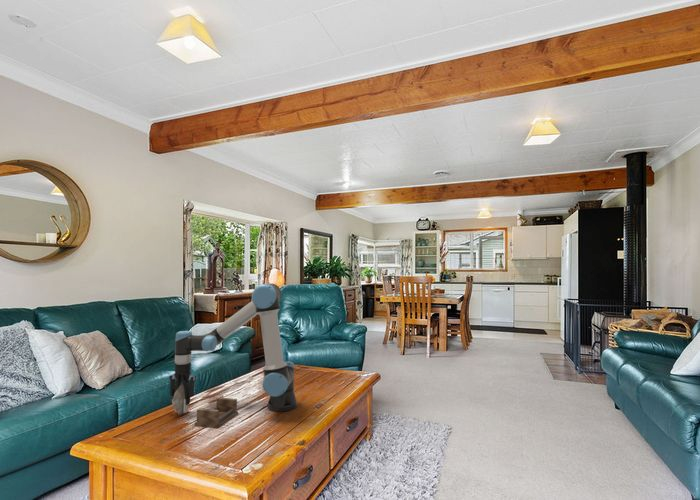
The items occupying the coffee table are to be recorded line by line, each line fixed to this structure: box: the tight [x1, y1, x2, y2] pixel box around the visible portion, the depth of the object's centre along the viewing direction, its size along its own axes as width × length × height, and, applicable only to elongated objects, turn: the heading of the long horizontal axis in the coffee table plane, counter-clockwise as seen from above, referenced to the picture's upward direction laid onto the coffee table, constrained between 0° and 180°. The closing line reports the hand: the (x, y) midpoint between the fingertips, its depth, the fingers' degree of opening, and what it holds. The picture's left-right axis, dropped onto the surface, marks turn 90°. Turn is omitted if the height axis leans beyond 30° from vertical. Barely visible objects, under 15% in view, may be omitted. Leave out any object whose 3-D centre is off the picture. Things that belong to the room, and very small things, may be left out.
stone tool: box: [171, 383, 185, 416], centre depth 188 cm, size 11×4×15 cm, turn 156°
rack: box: [194, 397, 239, 429], centre depth 181 cm, size 12×18×7 cm, turn 167°
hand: (181, 410), depth 188 cm, fingers closed on stone tool, 4 cm apart
